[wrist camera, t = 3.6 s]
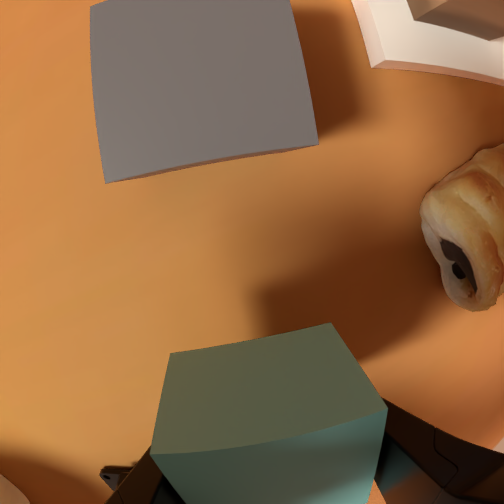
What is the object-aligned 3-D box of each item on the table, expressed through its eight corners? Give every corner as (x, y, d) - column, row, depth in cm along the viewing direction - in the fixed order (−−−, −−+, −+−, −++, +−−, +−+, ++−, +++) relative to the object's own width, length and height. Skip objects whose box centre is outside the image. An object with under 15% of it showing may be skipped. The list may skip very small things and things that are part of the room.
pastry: (504, 110, 11) (556, 109, 7) (534, 212, 13) (578, 226, 9) (398, 202, 12) (459, 219, 8) (445, 311, 13) (491, 347, 10)
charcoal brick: (284, 152, 11) (318, 144, 7) (145, 177, 10) (105, 183, 6) (261, 28, 9) (281, -29, 5) (128, 51, 9) (90, 6, 5)
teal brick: (334, 425, 11) (366, 502, 7) (210, 449, 10) (212, 533, 6) (330, 322, 9) (388, 408, 5) (170, 353, 9) (149, 454, 5)
